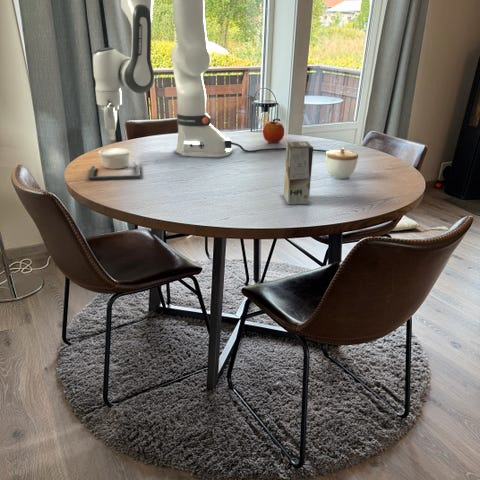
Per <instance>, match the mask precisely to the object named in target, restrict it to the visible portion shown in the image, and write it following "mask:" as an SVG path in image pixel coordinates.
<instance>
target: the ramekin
mask: <svg viewBox="0 0 480 480" xmlns="http://www.w3.org/2000/svg"><path fill="white" fill-rule="evenodd" d="M131 153H132V152H131V149H130V148H129V149H128V148H125V147H110V148H105V149H101V150H99V151H98V153H97V154H98V157H99V158H100V162H101V165H102V167H103V168H105V169H109V170H110V169H111V170H117V169H118V170H120V169H124V168H127V167H129V166H130V165H131V163H130V162H131Z"/></svg>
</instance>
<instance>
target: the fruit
mask: <svg viewBox="0 0 480 480" xmlns="http://www.w3.org/2000/svg"><path fill="white" fill-rule="evenodd" d="M262 136H263V139H264V140H265V141H266V142H267V143H273V144H277V143H279V142H281V141H282V140H283V138H284V136H285V127H284V125H283V124H282V122H281V119H280V118H278V117H276V118H274V119H272V121H267V122H266V123H265V124H264V125H263V128H262Z"/></svg>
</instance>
